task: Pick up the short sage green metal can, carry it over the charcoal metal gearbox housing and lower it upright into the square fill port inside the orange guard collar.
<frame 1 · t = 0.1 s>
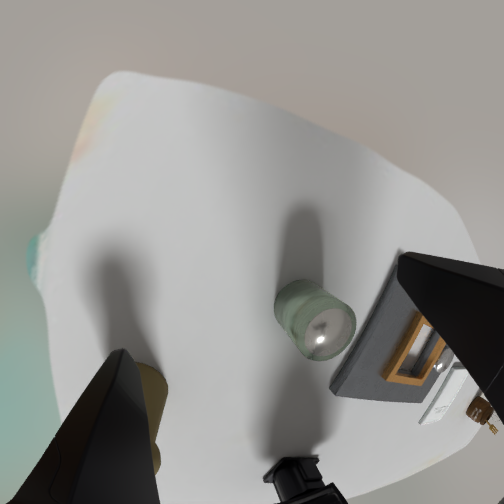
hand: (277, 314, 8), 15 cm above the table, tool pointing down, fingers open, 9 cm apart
cork: (139, 385, 23), on the table
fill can: (299, 305, 25), on the table
gearbox housing: (411, 346, 30), on the table
utensil holder: (471, 405, 43), on the table
external hard drive: (442, 393, 37), on the table
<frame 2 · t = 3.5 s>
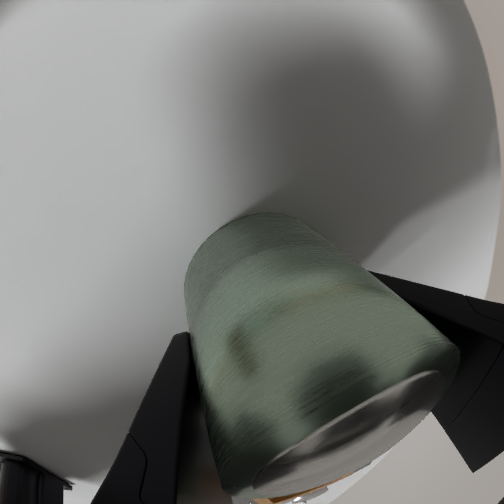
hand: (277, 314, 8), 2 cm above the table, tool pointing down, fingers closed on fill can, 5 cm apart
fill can: (261, 287, 9), on the table, touching gripper
gearbox housing: (298, 462, 18), on the table
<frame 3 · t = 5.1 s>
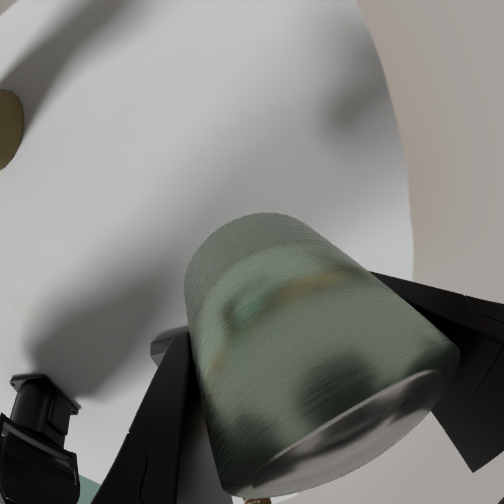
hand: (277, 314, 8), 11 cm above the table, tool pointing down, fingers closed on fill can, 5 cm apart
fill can: (261, 286, 9), point 10 cm above the table, touching gripper
gearbox housing: (263, 384, 26), on the table
utensil holder: (253, 490, 45), on the table
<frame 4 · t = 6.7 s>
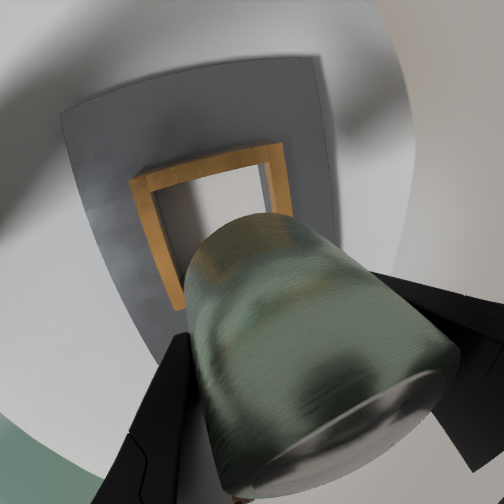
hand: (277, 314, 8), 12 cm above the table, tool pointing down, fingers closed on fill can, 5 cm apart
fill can: (261, 286, 9), point 10 cm above the table, touching gripper
gearbox housing: (216, 219, 19), on the table
utensil holder: (230, 471, 37), on the table
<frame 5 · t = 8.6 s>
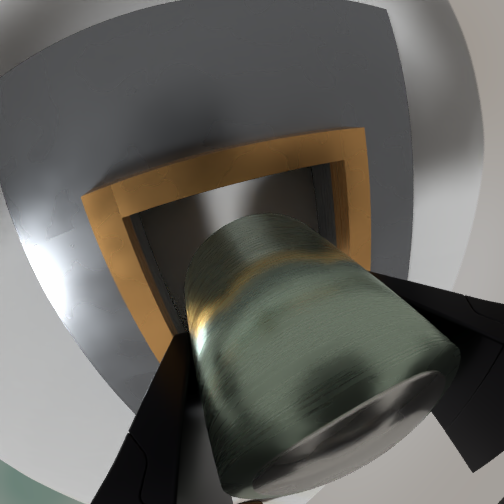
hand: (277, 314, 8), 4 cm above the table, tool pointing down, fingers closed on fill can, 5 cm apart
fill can: (261, 287, 9), point 3 cm above the table, touching gripper
gearbox housing: (243, 254, 11), on the table
when the fingers open (3 cm above the table, at t = 10.0 s): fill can drops 2 cm, resting in gearbox housing.
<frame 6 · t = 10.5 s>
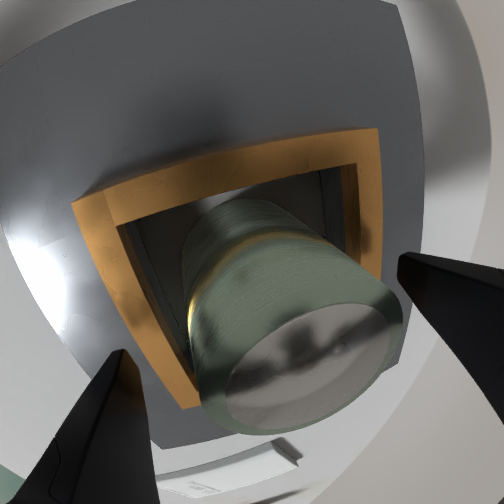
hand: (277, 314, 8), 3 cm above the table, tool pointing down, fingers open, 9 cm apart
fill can: (245, 261, 11), resting in gearbox housing
gearbox housing: (247, 262, 11), on the table
external hard drive: (224, 467, 20), on the table
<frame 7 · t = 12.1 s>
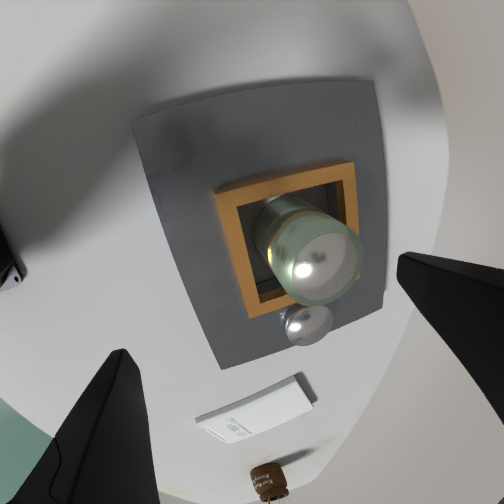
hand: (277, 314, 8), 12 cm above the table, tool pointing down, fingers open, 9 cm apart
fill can: (286, 230, 20), resting in gearbox housing
gearbox housing: (287, 230, 20), on the table
utensil holder: (264, 468, 39), on the table
external hard drive: (255, 408, 29), on the table
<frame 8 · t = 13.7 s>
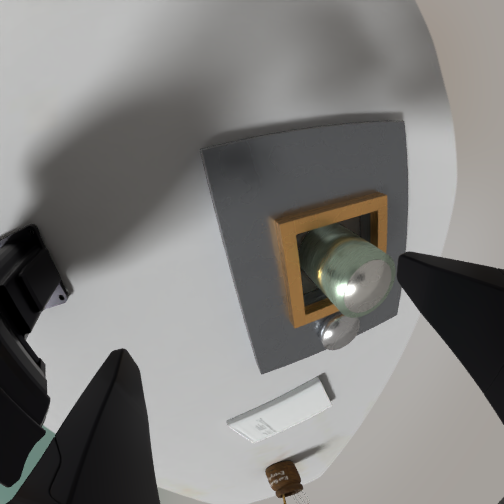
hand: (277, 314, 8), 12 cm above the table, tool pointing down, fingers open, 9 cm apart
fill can: (325, 250, 22), resting in gearbox housing
gearbox housing: (326, 251, 22), on the table
utensil holder: (278, 465, 41), on the table
external hard drive: (280, 408, 32), on the table
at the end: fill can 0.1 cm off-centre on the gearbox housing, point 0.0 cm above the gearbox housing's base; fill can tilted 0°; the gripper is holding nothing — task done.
